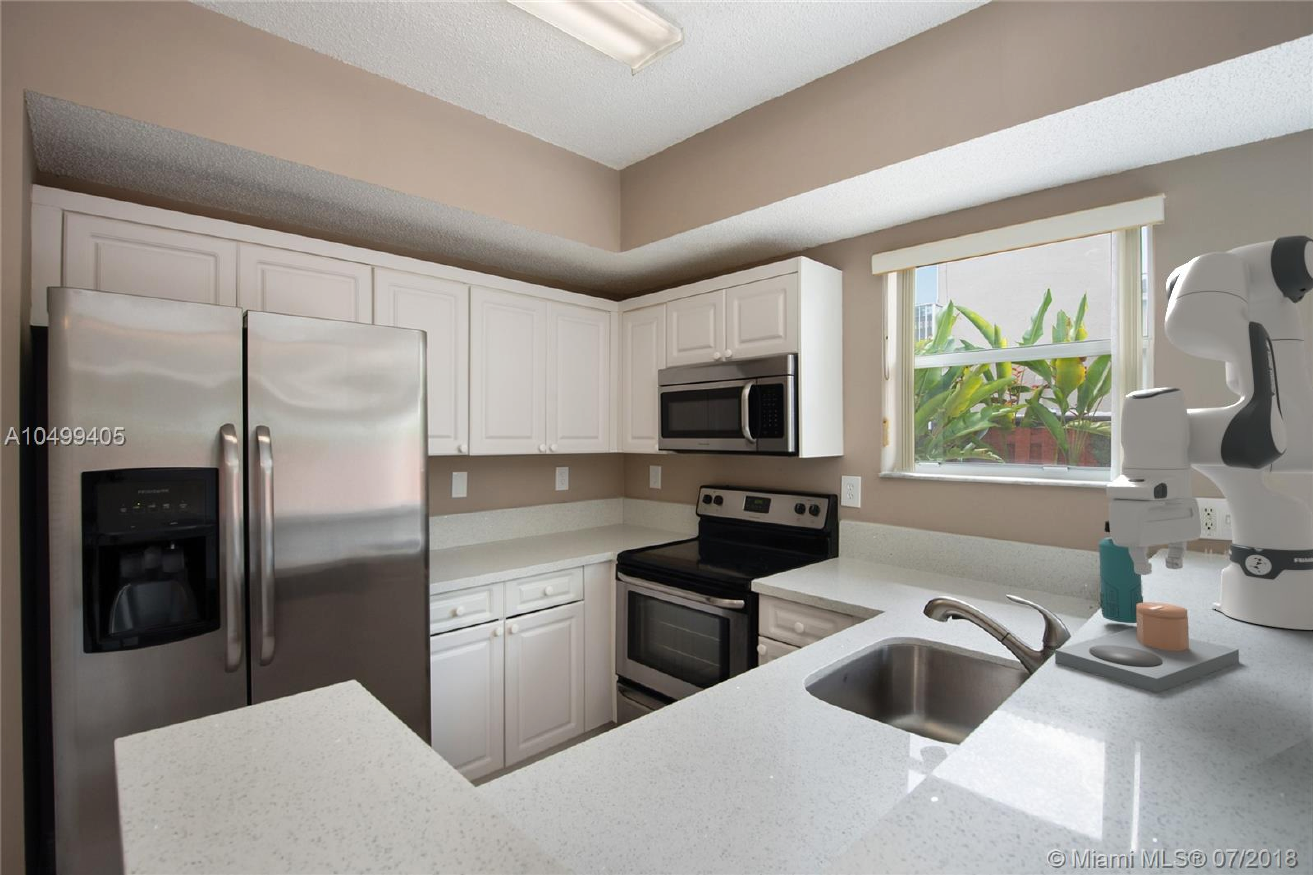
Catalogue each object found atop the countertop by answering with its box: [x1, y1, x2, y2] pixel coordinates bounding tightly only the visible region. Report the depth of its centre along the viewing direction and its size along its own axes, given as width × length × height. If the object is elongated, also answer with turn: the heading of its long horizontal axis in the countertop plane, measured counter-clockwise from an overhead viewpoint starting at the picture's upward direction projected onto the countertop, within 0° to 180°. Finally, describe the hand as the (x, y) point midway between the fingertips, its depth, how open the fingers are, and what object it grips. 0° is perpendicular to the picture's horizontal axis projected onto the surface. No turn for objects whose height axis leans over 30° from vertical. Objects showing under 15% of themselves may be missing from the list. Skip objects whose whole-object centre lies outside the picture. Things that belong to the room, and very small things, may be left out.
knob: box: [1136, 601, 1190, 651], centre depth 100 cm, size 6×6×6 cm
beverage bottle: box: [1098, 520, 1144, 624], centre depth 116 cm, size 6×7×20 cm
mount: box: [1054, 626, 1240, 694], centre depth 97 cm, size 24×14×6 cm, turn 116°
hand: (1158, 571), depth 100 cm, fingers open, 8 cm apart
